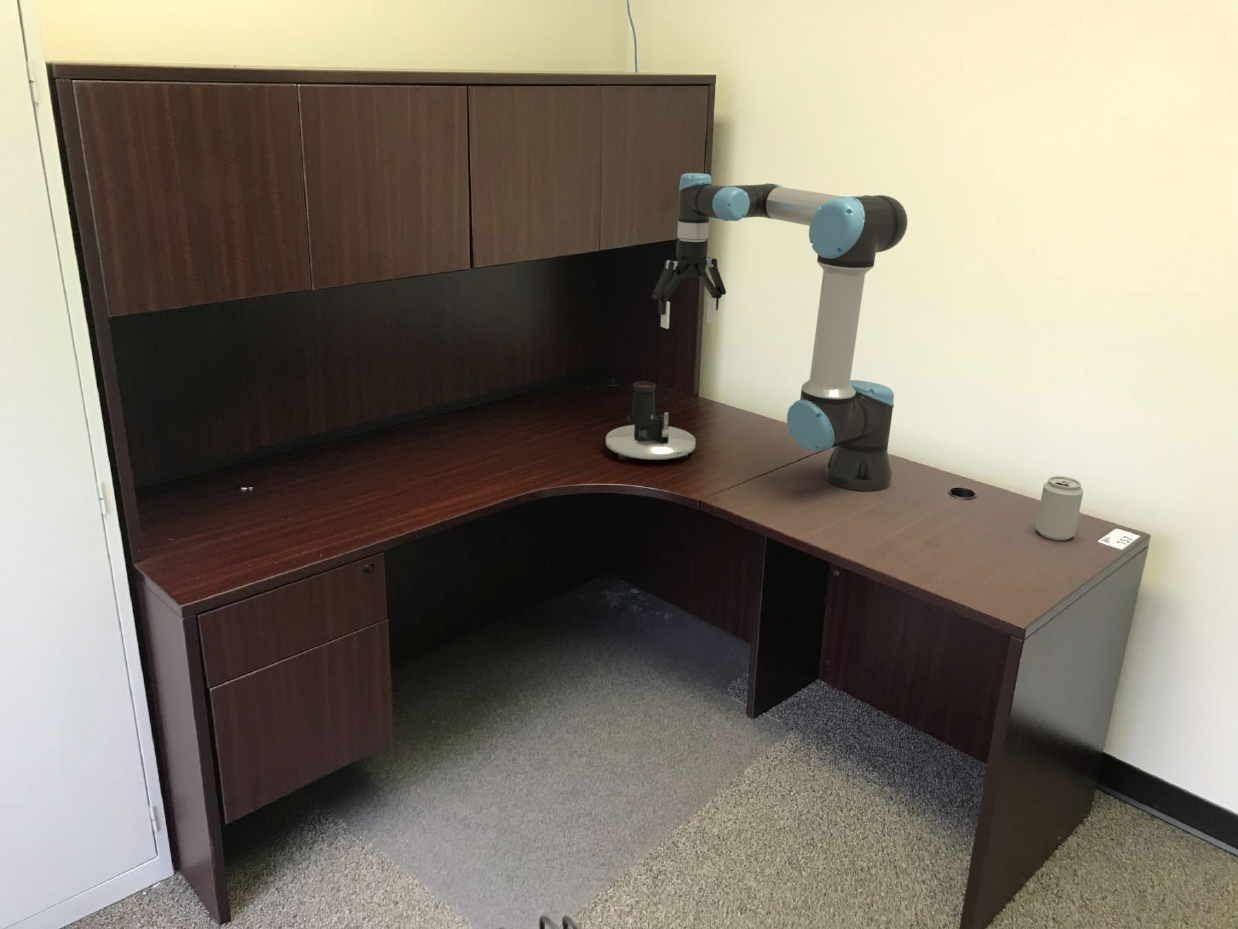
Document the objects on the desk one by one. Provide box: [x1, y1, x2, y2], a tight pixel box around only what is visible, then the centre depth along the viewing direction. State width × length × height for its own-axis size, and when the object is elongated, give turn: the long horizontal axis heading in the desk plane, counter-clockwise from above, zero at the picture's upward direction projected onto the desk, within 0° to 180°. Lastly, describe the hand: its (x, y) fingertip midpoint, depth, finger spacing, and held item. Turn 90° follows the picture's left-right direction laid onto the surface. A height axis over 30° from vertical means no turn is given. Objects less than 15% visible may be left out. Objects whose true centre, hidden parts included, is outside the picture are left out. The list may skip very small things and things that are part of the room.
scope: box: [626, 380, 670, 443], centre depth 246 cm, size 8×14×10 cm
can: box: [1035, 475, 1084, 541], centre depth 207 cm, size 8×8×12 cm
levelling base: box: [605, 424, 696, 461], centre depth 249 cm, size 22×22×4 cm
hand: (687, 325), depth 254 cm, fingers open, 13 cm apart
